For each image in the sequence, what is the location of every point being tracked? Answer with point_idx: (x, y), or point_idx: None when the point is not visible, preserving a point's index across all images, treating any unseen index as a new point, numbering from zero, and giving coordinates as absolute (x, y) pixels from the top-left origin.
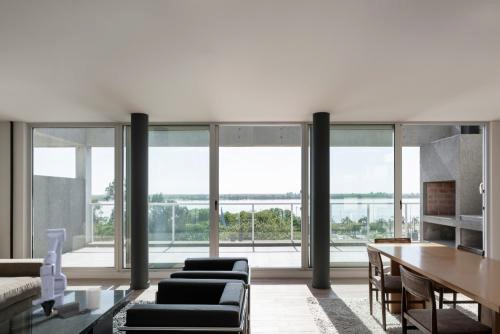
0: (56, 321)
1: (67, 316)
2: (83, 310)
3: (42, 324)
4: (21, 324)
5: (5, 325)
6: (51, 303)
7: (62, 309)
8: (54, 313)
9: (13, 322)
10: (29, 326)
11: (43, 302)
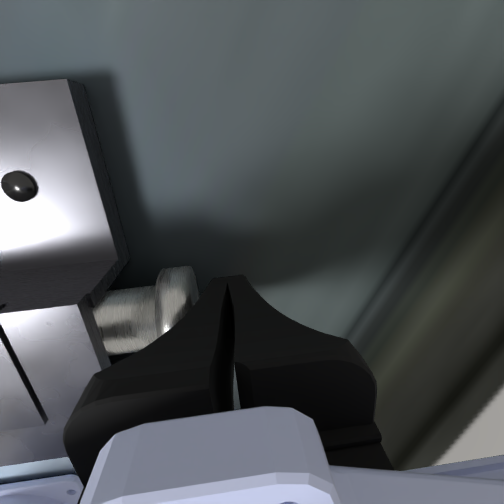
0: (221, 63)
1: (34, 85)
2: None
3: (376, 118)
4: (439, 323)
5: (488, 398)
6: (203, 362)
7: (19, 292)
8: (152, 288)
9: (419, 422)
10: (468, 188)
11: (390, 465)
